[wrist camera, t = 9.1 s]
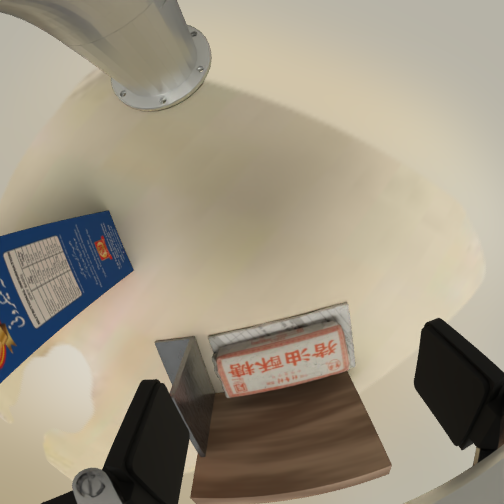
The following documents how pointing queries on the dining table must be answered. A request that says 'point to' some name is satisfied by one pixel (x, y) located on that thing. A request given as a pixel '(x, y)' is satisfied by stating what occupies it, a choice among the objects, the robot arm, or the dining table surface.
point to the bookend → (189, 387)
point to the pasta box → (53, 280)
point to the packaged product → (284, 352)
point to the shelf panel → (288, 444)
